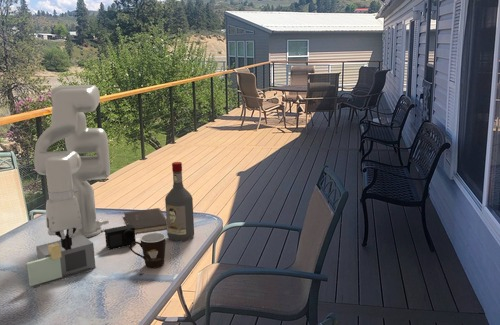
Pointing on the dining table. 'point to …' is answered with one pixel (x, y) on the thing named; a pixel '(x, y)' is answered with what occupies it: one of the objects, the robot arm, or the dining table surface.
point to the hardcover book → (146, 220)
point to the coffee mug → (152, 249)
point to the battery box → (71, 258)
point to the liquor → (179, 208)
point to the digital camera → (120, 237)
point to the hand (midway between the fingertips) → (67, 248)
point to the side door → (46, 267)
